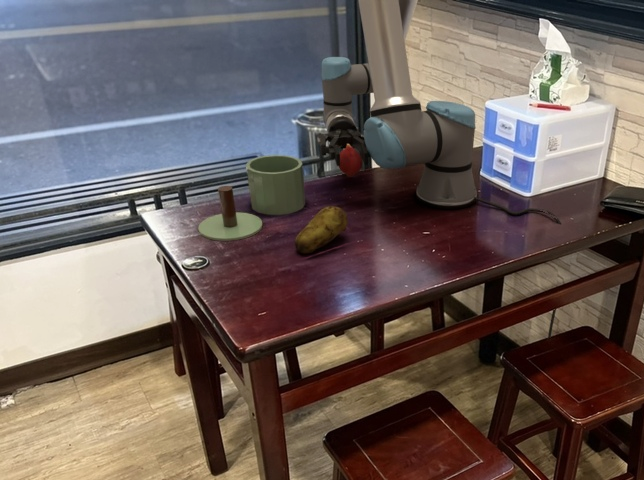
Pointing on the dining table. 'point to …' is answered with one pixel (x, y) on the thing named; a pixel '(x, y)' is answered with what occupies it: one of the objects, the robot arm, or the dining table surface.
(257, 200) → the pot
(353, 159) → the onion
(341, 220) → the potato
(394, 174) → the dining table surface
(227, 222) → the lid
